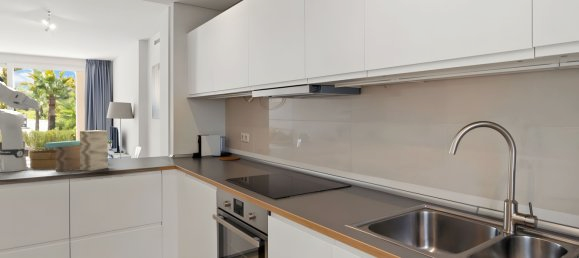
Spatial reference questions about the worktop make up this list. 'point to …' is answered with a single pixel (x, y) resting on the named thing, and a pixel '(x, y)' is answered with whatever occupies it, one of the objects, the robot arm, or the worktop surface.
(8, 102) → the robot arm
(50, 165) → the wooden planter box
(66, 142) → the batten
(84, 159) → the tall stand
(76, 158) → the low stand
